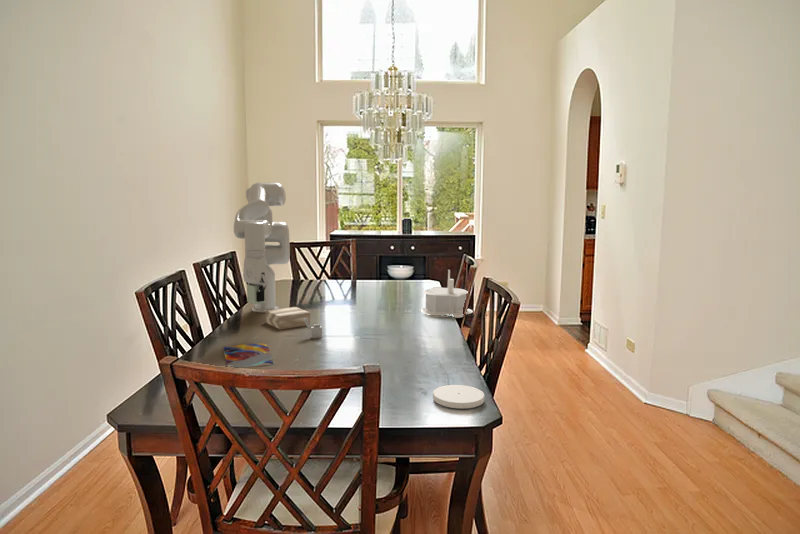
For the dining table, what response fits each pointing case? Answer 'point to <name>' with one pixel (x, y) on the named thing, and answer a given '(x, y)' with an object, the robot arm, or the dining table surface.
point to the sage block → (253, 294)
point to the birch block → (287, 317)
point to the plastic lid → (458, 396)
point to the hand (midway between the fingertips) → (256, 299)
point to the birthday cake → (446, 300)
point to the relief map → (248, 355)
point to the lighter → (314, 329)
